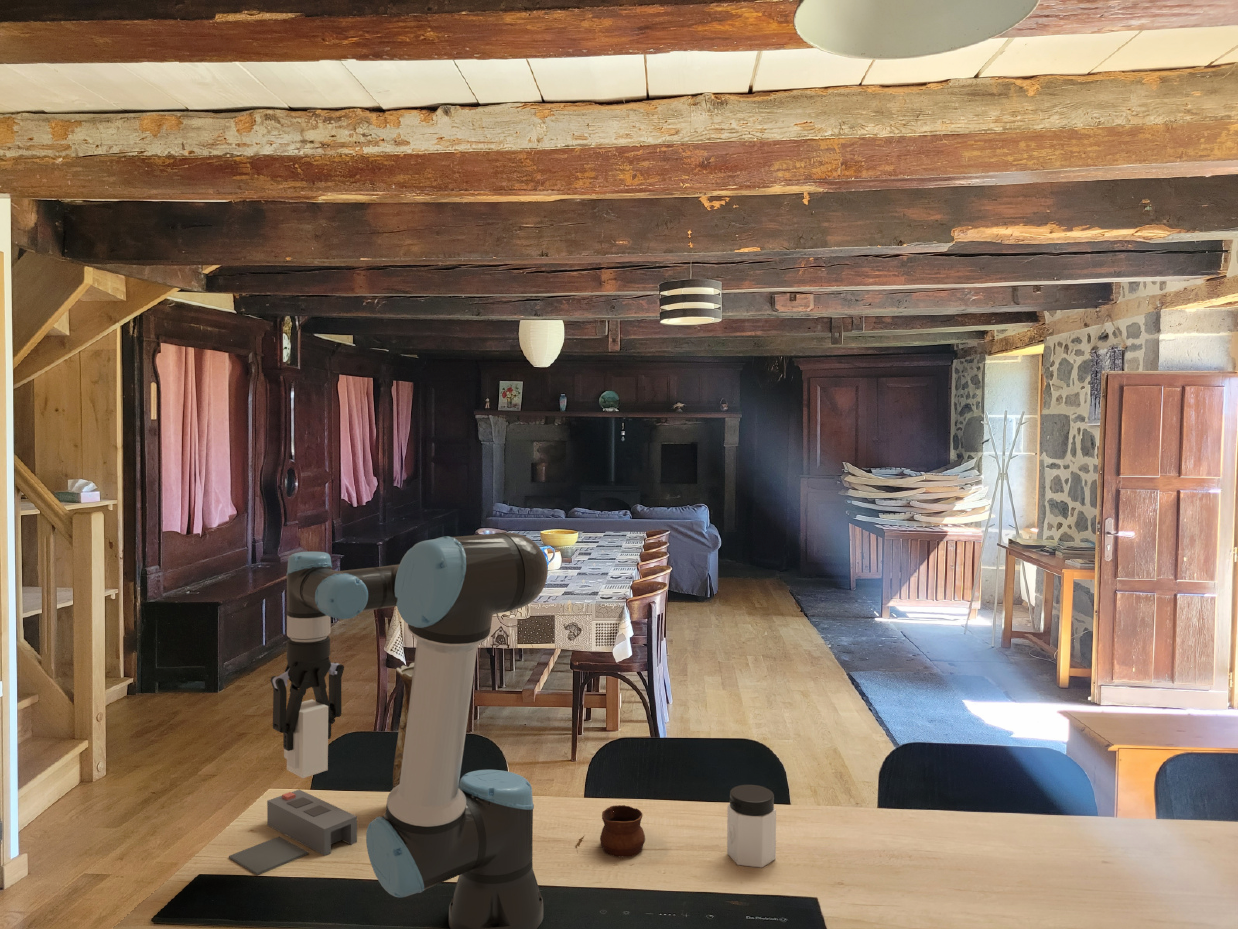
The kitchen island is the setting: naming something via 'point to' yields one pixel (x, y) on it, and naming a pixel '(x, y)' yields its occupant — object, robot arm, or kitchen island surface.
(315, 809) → the power strip
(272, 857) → the mat
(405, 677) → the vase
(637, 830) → the ceramic pot
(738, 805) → the jar
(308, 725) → the charger
